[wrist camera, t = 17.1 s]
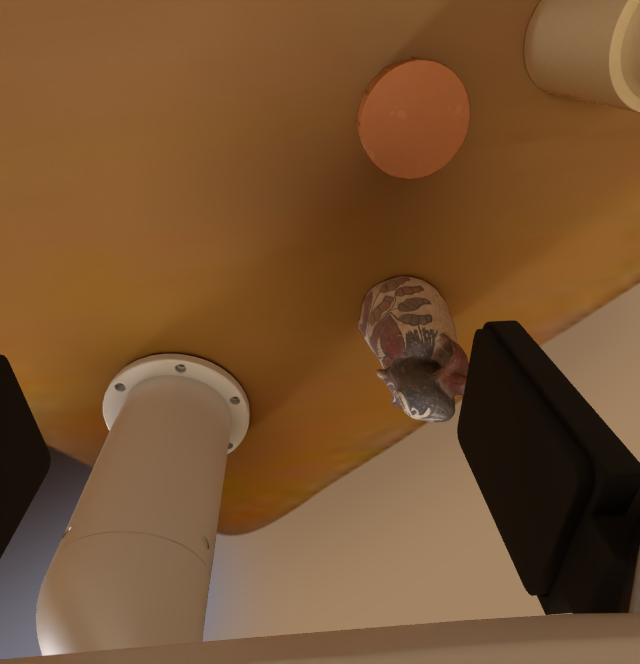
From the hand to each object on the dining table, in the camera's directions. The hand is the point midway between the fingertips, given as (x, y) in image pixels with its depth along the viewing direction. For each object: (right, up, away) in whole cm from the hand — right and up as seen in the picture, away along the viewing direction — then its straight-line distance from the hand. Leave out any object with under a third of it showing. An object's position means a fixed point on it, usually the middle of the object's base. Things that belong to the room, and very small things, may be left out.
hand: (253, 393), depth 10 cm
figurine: (+8, +3, +29) cm, 30 cm away
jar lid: (+7, +14, +19) cm, 25 cm away
